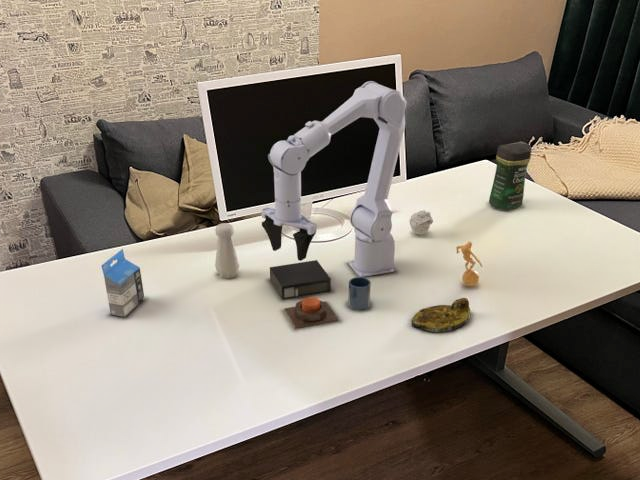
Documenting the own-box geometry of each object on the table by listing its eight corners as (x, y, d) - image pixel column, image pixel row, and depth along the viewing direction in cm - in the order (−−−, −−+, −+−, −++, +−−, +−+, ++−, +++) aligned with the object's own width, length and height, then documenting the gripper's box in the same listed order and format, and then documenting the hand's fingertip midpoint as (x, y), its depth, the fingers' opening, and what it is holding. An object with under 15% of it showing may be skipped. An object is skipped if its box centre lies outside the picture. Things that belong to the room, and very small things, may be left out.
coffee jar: (502, 213, 212) (512, 150, 202) (484, 203, 218) (493, 142, 207) (527, 207, 217) (538, 145, 206) (508, 197, 222) (518, 137, 211)
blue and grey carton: (125, 318, 162) (116, 268, 155) (109, 315, 163) (100, 265, 156) (145, 299, 169) (138, 250, 162) (130, 296, 170) (122, 248, 163)
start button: (316, 302, 165) (316, 295, 164) (322, 311, 162) (322, 304, 161) (299, 305, 164) (299, 298, 163) (305, 314, 160) (305, 307, 159)
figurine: (487, 290, 175) (494, 244, 168) (469, 296, 172) (475, 250, 165) (463, 276, 181) (469, 231, 174) (445, 282, 178) (450, 237, 171)
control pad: (325, 303, 168) (325, 294, 167) (337, 321, 162) (338, 311, 161) (284, 311, 165) (283, 301, 164) (294, 329, 159) (294, 319, 158)
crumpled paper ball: (418, 241, 196) (420, 217, 192) (403, 231, 201) (405, 207, 197) (436, 236, 199) (439, 212, 195) (421, 227, 204) (423, 203, 200)
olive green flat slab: (424, 342, 158) (479, 325, 164) (427, 325, 155) (483, 308, 160) (401, 318, 164) (455, 302, 170) (403, 301, 161) (459, 285, 166)
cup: (364, 298, 171) (365, 275, 167) (372, 308, 167) (374, 285, 164) (345, 301, 169) (345, 279, 166) (352, 312, 166) (353, 289, 162)
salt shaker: (235, 281, 176) (231, 231, 169) (212, 278, 177) (208, 229, 170) (242, 270, 181) (239, 221, 174) (220, 267, 182) (216, 219, 174)
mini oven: (316, 272, 181) (316, 259, 179) (331, 293, 173) (331, 280, 170) (270, 280, 177) (269, 267, 175) (282, 301, 169) (282, 288, 167)
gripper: (251, 194, 160) (254, 250, 168) (301, 212, 153) (302, 269, 161) (272, 185, 165) (274, 240, 173) (322, 202, 158) (322, 258, 165)
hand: (289, 254), depth 167 cm, fingers open, 7 cm apart
